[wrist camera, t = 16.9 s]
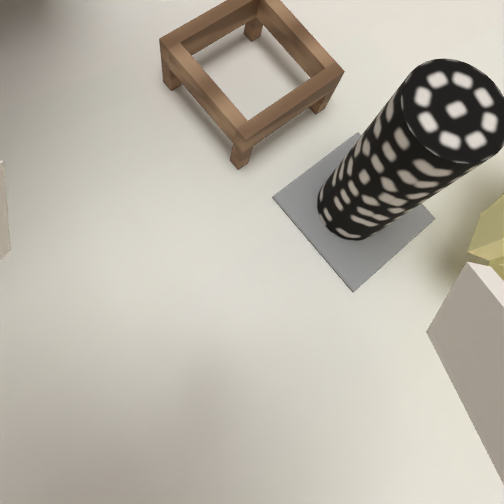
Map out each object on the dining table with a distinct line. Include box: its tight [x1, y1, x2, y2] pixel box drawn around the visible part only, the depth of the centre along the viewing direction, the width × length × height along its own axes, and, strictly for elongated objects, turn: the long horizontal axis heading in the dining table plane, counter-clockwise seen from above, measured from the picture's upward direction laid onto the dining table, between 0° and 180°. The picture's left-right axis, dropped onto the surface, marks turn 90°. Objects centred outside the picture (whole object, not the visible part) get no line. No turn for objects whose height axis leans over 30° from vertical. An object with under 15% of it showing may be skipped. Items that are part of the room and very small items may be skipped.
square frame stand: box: [159, 0, 345, 170], centre depth 47 cm, size 14×14×7 cm
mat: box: [272, 133, 435, 292], centre depth 49 cm, size 14×14×1 cm
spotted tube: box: [317, 59, 504, 241], centre depth 39 cm, size 8×8×20 cm
